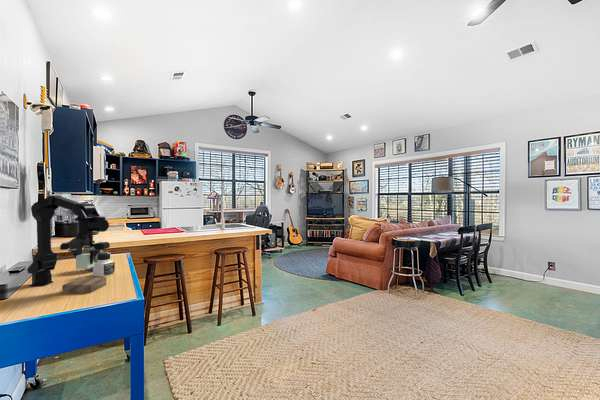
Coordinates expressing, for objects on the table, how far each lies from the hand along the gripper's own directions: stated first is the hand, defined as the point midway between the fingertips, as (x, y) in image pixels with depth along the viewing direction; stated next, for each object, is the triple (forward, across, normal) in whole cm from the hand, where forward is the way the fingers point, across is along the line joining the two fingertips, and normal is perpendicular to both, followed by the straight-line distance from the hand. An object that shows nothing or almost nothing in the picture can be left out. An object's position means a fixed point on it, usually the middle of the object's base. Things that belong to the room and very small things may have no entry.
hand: (85, 264), depth 136 cm
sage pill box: (+2, 0, 0) cm, 2 cm away
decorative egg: (+12, -17, +34) cm, 40 cm away
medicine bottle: (+12, -5, +24) cm, 27 cm away
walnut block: (+12, 0, 0) cm, 12 cm away
